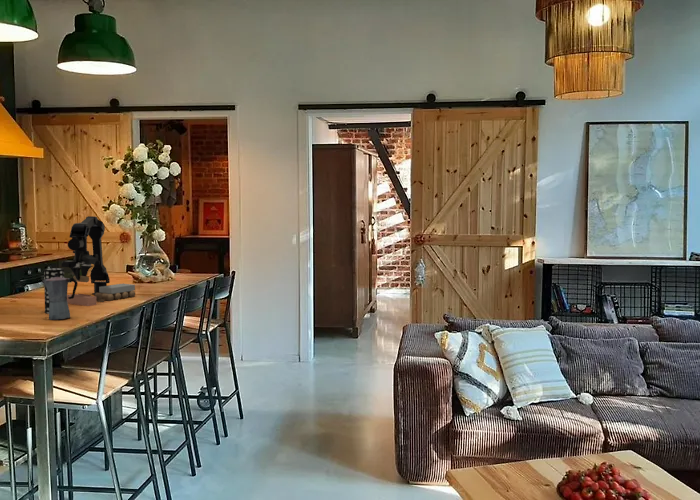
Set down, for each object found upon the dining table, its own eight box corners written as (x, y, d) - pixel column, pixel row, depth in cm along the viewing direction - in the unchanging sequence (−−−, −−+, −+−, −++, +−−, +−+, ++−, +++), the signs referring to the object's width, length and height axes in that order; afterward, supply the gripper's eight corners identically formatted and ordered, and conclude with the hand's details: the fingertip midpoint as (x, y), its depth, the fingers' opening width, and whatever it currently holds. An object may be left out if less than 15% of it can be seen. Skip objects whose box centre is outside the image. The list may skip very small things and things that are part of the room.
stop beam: (65, 303, 330) (65, 294, 329) (74, 301, 334) (73, 292, 334) (88, 305, 322) (88, 296, 322) (96, 304, 327) (96, 295, 326)
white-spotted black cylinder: (68, 311, 307) (67, 268, 305) (55, 314, 299) (54, 270, 297) (54, 310, 309) (53, 267, 308) (40, 312, 302) (39, 269, 300)
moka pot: (46, 316, 293) (45, 271, 292) (82, 316, 295) (81, 272, 293) (38, 320, 284) (37, 274, 282) (75, 320, 285) (74, 274, 284)
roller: (73, 281, 328) (73, 275, 328) (78, 280, 331) (78, 275, 331) (84, 282, 324) (84, 276, 324) (89, 282, 327) (89, 276, 327)
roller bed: (78, 302, 333) (78, 295, 333) (121, 295, 358) (121, 288, 358) (92, 303, 329) (92, 297, 328) (135, 296, 354) (135, 290, 353)
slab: (99, 292, 344) (99, 286, 344) (122, 288, 358) (122, 283, 358) (111, 293, 340) (111, 288, 339) (134, 290, 354) (134, 284, 354)
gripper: (76, 251, 314) (77, 283, 316) (107, 248, 331) (107, 279, 332) (60, 249, 319) (61, 281, 321) (91, 247, 336) (91, 277, 337)
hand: (81, 280), depth 328 cm, fingers closed on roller, 3 cm apart
